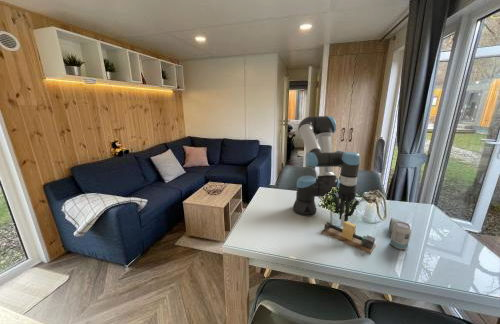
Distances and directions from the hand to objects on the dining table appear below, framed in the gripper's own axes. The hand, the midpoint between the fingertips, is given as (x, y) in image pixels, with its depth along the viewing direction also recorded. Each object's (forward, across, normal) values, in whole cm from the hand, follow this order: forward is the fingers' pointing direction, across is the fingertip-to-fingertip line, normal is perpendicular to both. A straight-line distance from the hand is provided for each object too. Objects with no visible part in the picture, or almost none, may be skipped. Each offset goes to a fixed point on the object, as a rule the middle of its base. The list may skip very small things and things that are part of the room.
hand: (342, 225), depth 106 cm
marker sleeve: (+6, +3, 0) cm, 6 cm away
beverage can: (+7, +23, +13) cm, 27 cm away
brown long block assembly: (+7, +3, 0) cm, 8 cm away
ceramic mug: (+7, +19, +26) cm, 34 cm away
